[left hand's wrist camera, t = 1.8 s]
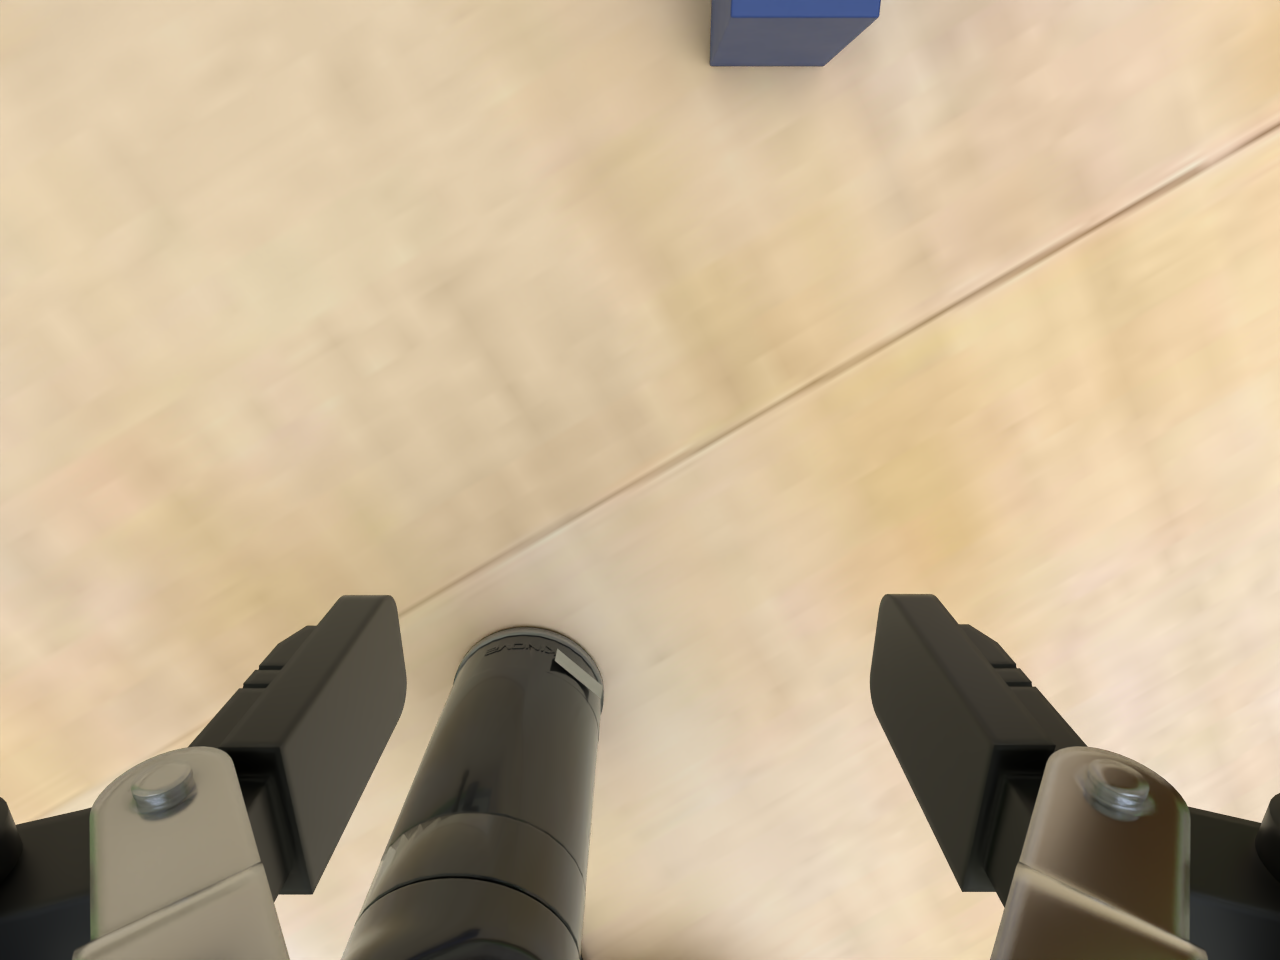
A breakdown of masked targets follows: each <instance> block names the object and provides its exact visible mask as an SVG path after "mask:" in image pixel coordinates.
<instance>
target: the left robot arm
mask: <svg viewBox="0 0 1280 960" xmlns="http://www.w3.org/2000/svg"><path fill="white" fill-rule="evenodd" d="M406 685H407V681H406V670H405V663H404V656H403V648H402V641H401V634H400V627H399V619H398V612H397V606H396V603H395V601H394V599H393V597H391V596H389V595H344V596H342V597H340V598H339V599H338V601H337V602H336V603H335V604H334V605H333V607H332V608H331V609H330V610H329V612H328V613H327V614H326V615H325V616H324V618H323V619H322V620H321V621H320V623H319V624H318V625H317V626H306V627H304V628H303V629H301V630H300V631H298V632H296V633H295V634H293V635H292V636H290V637H288V638H287V639H285V640H284V641H282V642H281V643H279V644H278V645H277V646H276V647H275V648H274V649H273V650H272V652H271V653H270V654H269V655H268V656H267V657H266V658H265V660H264V661H263V662H262V663H261V664H260V665H259V670H255V671H254V672H253V673H252V674H251V676H250V677H249V678H248V679H247V680H246V681H245V682H244V684H243V688H239V689H238V690H237V692H236V693H235V694H234V695H233V696H232V697H231V698H230V700H229V701H228V702H227V703H226V704H225V705H224V706H223V708H222V709H221V710H220V711H219V712H218V713H217V714H216V716H215V717H214V718H213V719H212V720H211V721H210V723H209V724H208V725H207V726H206V727H205V728H204V729H203V731H202V732H201V733H200V734H199V735H198V736H197V737H196V739H195V740H194V741H193V742H192V743H191V744H190V745H189V747H188V748H182V749H177V750H173V751H170V752H166V753H163V754H160V755H158V756H155V757H153V758H150V759H148V760H146V761H144V762H142V763H140V764H138V765H136V766H134V767H133V768H131V769H129V770H128V771H126V772H125V773H123V774H122V775H121V776H119V777H118V778H116V779H115V780H114V781H113V782H112V783H111V784H109V785H108V786H107V787H106V788H105V789H104V791H103V792H102V793H101V794H100V795H99V796H98V798H97V799H96V801H95V802H94V804H93V807H92V808H88V809H84V810H80V811H75V812H71V813H67V814H62V815H58V816H53V817H49V818H44V819H40V820H36V821H31V822H27V823H22V824H18V825H15V823H14V820H13V818H12V815H11V813H10V810H9V808H8V805H7V803H6V802H5V801H4V800H3V798H1V797H0V960H290V958H289V955H288V951H287V948H286V944H285V941H284V937H283V934H282V930H281V926H280V923H279V919H278V916H277V912H276V909H275V905H274V902H275V900H276V898H277V896H278V894H313V892H314V890H315V888H316V886H317V884H318V882H319V880H320V878H321V876H322V874H323V872H324V870H325V868H326V866H327V864H328V862H329V860H330V858H331V856H332V854H333V852H334V850H335V848H336V846H337V844H338V842H339V840H340V838H341V836H342V834H343V832H344V830H345V828H346V826H347V823H348V821H349V819H350V817H351V815H352V813H353V811H354V809H355V807H356V805H357V803H358V801H359V799H360V797H361V795H362V793H363V791H364V789H365V787H366V785H367V783H368V781H369V779H370V777H371V775H372V773H373V771H374V769H375V767H376V765H377V763H378V761H379V759H380V757H381V754H382V752H383V750H384V748H385V746H386V744H387V742H388V740H389V738H390V736H391V734H392V732H393V730H394V728H395V726H396V724H397V722H398V720H399V718H400V716H401V713H402V710H403V707H404V703H405V697H406ZM870 692H871V699H872V704H873V708H874V711H875V713H876V716H877V718H878V720H879V722H880V724H881V726H882V728H883V730H884V732H885V734H886V736H887V738H888V740H889V742H890V744H891V747H892V749H893V751H894V753H895V755H896V757H897V759H898V761H899V763H900V765H901V767H902V769H903V771H904V773H905V775H906V777H907V779H908V781H909V784H910V786H911V788H912V790H913V792H914V794H915V796H916V798H917V800H918V802H919V804H920V806H921V808H922V810H923V812H924V814H925V816H926V818H927V821H928V823H929V825H930V827H931V829H932V831H933V833H934V835H935V837H936V839H937V841H938V843H939V845H940V847H941V849H942V851H943V853H944V855H945V857H946V860H947V862H948V864H949V866H950V868H951V870H952V872H953V874H954V876H955V878H956V880H957V882H958V884H959V886H960V888H961V890H962V892H996V893H997V895H998V896H999V898H1000V900H1001V902H1002V904H1003V906H1004V908H1005V909H1004V912H1003V916H1002V919H1001V923H1000V926H999V930H998V934H997V937H996V941H995V944H994V948H993V951H992V955H991V958H990V960H1280V793H1279V794H1277V795H1275V796H1274V797H1273V798H1272V799H1271V801H1270V803H1269V806H1268V808H1267V811H1266V813H1265V816H1264V818H1263V821H1262V823H1258V822H1254V821H1249V820H1245V819H1241V818H1236V817H1232V816H1227V815H1223V814H1218V813H1214V812H1209V811H1205V810H1201V809H1196V808H1192V807H1188V806H1187V804H1186V802H1185V801H1184V799H1183V798H1182V796H1181V795H1180V794H1179V793H1178V792H1177V791H1176V789H1175V788H1174V787H1173V786H1172V785H1171V784H1169V783H1168V782H1167V781H1166V780H1165V779H1164V778H1162V777H1161V776H1159V775H1158V774H1157V773H1155V772H1154V771H1152V770H1151V769H1149V768H1147V767H1146V766H1144V765H1142V764H1140V763H1138V762H1136V761H1134V760H1132V759H1130V758H1127V757H1125V756H1122V755H1120V754H1117V753H1114V752H1110V751H1107V750H1103V749H1098V748H1092V747H1087V745H1086V744H1085V743H1084V742H1083V741H1082V740H1081V739H1080V737H1079V736H1078V735H1077V734H1076V733H1075V732H1074V730H1073V729H1072V728H1071V727H1070V726H1069V725H1068V724H1067V722H1066V721H1065V720H1064V719H1063V718H1062V717H1061V715H1060V714H1059V713H1058V712H1057V711H1056V710H1055V708H1054V707H1053V706H1052V705H1051V704H1050V703H1049V702H1048V700H1047V699H1046V698H1045V697H1044V696H1043V695H1042V693H1041V692H1040V691H1039V690H1038V689H1037V688H1036V687H1032V682H1031V681H1030V680H1029V678H1028V677H1027V676H1026V675H1025V674H1024V673H1023V672H1022V670H1021V669H1020V668H1016V663H1015V662H1014V661H1013V660H1012V659H1011V658H1010V657H1009V655H1008V654H1007V653H1006V652H1005V651H1004V650H1003V648H1002V647H1001V646H1000V645H999V644H998V643H997V642H996V641H994V640H992V639H991V638H989V637H988V636H986V635H985V634H983V633H981V632H980V631H978V630H977V629H975V628H974V627H972V626H970V625H969V624H958V623H957V622H956V621H955V619H954V618H953V617H952V616H951V614H950V613H949V612H948V611H947V609H946V608H945V607H944V606H943V604H942V603H941V602H940V601H939V599H938V598H937V597H936V596H934V595H932V594H886V595H885V596H884V597H883V598H882V600H881V603H880V607H879V613H878V621H877V628H876V635H875V643H874V650H873V657H872V665H871V672H870ZM603 698H604V689H603V682H602V678H601V675H600V672H599V670H598V668H597V666H596V664H595V662H594V661H593V660H592V658H591V657H590V656H589V655H588V654H587V652H586V651H585V650H583V649H582V648H581V647H580V646H579V645H578V644H576V643H575V642H573V641H572V640H570V639H568V638H566V637H564V636H562V635H560V634H558V633H555V632H552V631H549V630H544V629H539V628H527V627H524V628H512V629H507V630H503V631H500V632H496V633H494V634H492V635H489V636H488V637H486V638H484V639H482V640H481V641H479V642H478V643H477V644H476V645H474V646H473V647H472V648H471V649H470V650H469V651H468V653H467V654H466V655H465V657H464V658H463V660H462V661H461V664H460V666H459V668H458V670H457V673H456V676H455V679H454V684H453V687H452V690H451V692H450V694H449V697H448V699H447V702H446V704H445V706H444V708H443V710H442V713H441V715H440V718H439V720H438V723H437V725H436V727H435V730H434V732H433V735H432V737H431V740H430V742H429V744H428V747H427V749H426V752H425V754H424V757H423V759H422V762H421V764H420V766H419V769H418V771H417V774H416V776H415V779H414V781H413V783H412V786H411V788H410V791H409V793H408V796H407V798H406V800H405V803H404V805H403V808H402V810H401V813H400V815H399V818H398V820H397V822H396V825H395V827H394V830H393V832H392V835H391V837H390V839H389V842H388V844H387V847H386V849H385V852H384V854H383V856H382V859H381V862H380V865H379V867H378V870H377V872H376V874H375V877H374V879H373V882H372V884H371V887H370V889H369V891H368V894H367V896H366V899H365V901H364V904H363V906H362V909H361V911H360V913H359V916H358V918H357V921H356V923H355V926H354V928H353V931H352V933H351V936H350V938H349V941H348V943H347V946H346V948H345V951H344V953H343V956H342V958H341V960H583V959H582V955H581V944H582V932H583V919H584V907H585V895H586V893H585V891H586V879H587V867H588V855H589V843H590V831H591V820H592V808H593V796H594V784H595V772H596V760H597V749H598V740H599V727H600V716H601V712H602V707H603Z"/></svg>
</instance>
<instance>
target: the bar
mask: <svg viewBox="0 0 1280 960" xmlns="http://www.w3.org/2000/svg"><path fill="white" fill-rule="evenodd" d="M880 2H881V0H712V7H711V40H710V66H824V65H825V64H827V63H828V62H829V61H830V60H831V59H832V58H833V57H834V56H836V55H837V54H838V53H839V52H840V51H841V50H842V49H843V48H845V47H846V46H847V45H848V44H849V43H850V42H851V41H852V40H854V39H855V38H856V37H857V36H858V35H859V34H860V33H861V32H863V31H864V30H865V29H866V28H867V27H868V26H869V25H870V24H871V23H873V22H874V21H875V20H876V19H877V18H878V17H879V12H880Z"/></svg>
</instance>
